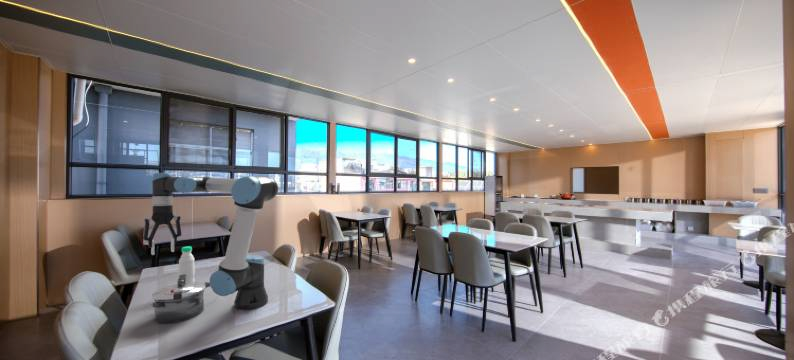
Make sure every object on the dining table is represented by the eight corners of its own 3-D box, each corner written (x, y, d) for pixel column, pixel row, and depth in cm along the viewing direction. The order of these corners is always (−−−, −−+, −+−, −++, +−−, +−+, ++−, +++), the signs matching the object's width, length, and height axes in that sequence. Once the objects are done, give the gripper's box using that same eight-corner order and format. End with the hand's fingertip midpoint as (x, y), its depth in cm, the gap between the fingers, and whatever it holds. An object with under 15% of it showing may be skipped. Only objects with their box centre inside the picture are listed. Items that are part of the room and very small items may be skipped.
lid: (205, 295, 129) (205, 286, 129) (147, 306, 118) (147, 296, 118) (206, 278, 153) (206, 270, 153) (158, 285, 142) (158, 277, 142)
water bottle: (197, 290, 163) (197, 246, 163) (184, 295, 156) (184, 248, 157) (188, 289, 165) (188, 245, 165) (175, 293, 159) (175, 247, 159)
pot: (173, 328, 121) (173, 304, 121) (138, 323, 125) (138, 300, 125) (224, 302, 147) (224, 282, 147) (193, 299, 151) (193, 280, 151)
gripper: (136, 206, 130) (137, 258, 129) (189, 204, 145) (189, 250, 144) (133, 206, 134) (134, 255, 134) (185, 203, 149) (185, 248, 149)
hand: (162, 252), depth 139 cm, fingers open, 7 cm apart
